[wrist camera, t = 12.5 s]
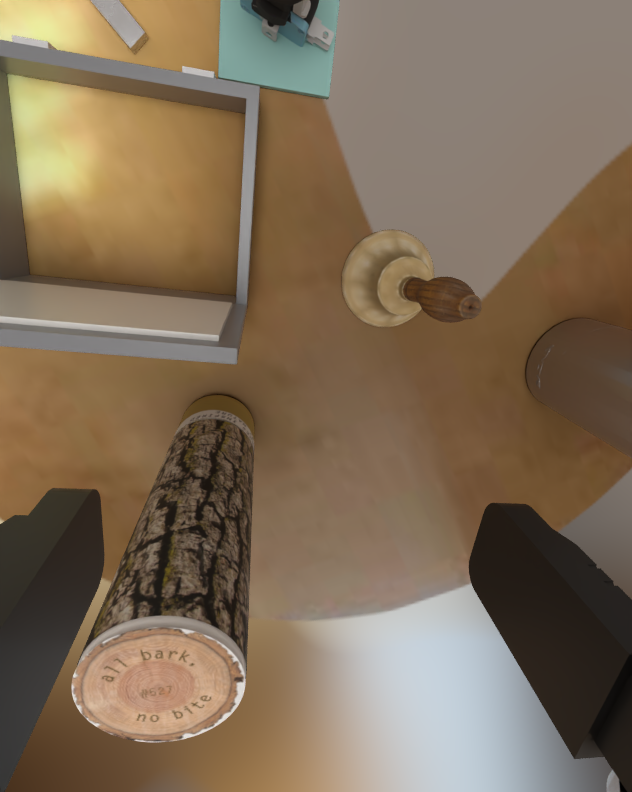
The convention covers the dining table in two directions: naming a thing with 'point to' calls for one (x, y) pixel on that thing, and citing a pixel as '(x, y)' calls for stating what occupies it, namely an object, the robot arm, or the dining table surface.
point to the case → (108, 302)
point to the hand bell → (401, 283)
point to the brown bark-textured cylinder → (179, 591)
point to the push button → (290, 20)
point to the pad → (274, 53)
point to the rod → (122, 23)
